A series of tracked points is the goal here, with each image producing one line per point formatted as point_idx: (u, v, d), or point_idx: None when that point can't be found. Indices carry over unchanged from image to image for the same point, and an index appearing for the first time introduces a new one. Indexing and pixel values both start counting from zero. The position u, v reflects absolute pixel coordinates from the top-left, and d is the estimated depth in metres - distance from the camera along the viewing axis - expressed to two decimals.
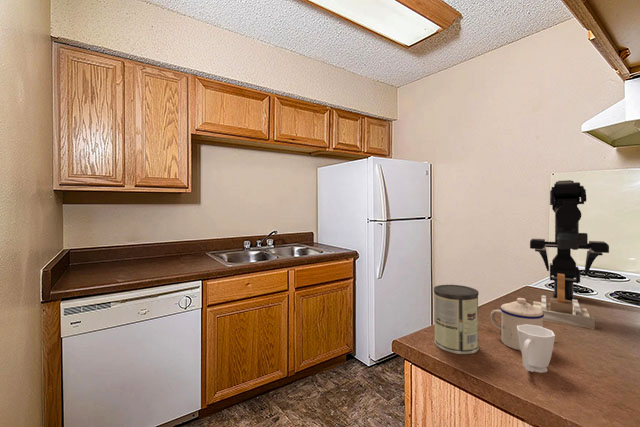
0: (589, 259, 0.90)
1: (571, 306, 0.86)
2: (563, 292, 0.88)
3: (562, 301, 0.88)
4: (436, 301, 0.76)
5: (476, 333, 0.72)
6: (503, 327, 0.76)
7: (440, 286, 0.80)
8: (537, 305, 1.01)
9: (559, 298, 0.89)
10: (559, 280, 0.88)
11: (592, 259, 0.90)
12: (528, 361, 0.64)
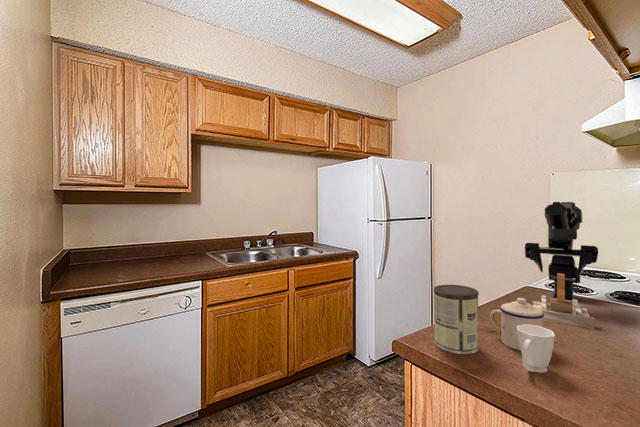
0: (581, 259, 0.94)
1: (571, 306, 0.86)
2: (563, 292, 0.88)
3: (562, 301, 0.88)
4: (436, 301, 0.76)
5: (476, 333, 0.72)
6: (503, 327, 0.76)
7: (440, 286, 0.80)
8: (537, 305, 1.01)
9: (559, 298, 0.89)
10: (559, 280, 0.88)
11: (583, 259, 0.94)
12: (528, 361, 0.64)
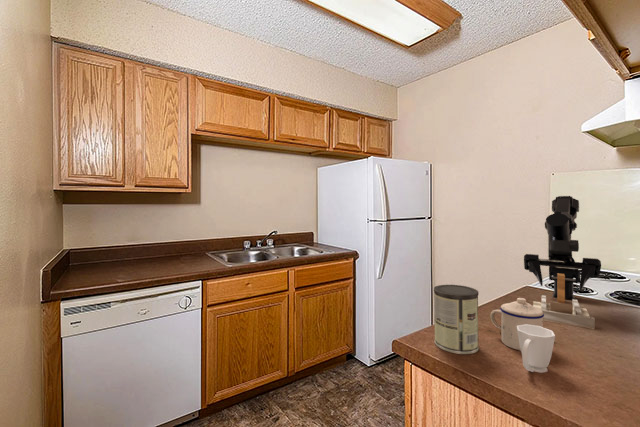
0: (582, 273, 0.89)
1: (571, 306, 0.86)
2: (563, 292, 0.88)
3: (562, 301, 0.88)
4: (436, 301, 0.76)
5: (476, 333, 0.72)
6: (503, 327, 0.76)
7: (440, 286, 0.80)
8: (537, 305, 1.01)
9: (559, 298, 0.89)
10: (559, 280, 0.88)
11: (585, 273, 0.89)
12: (528, 361, 0.64)
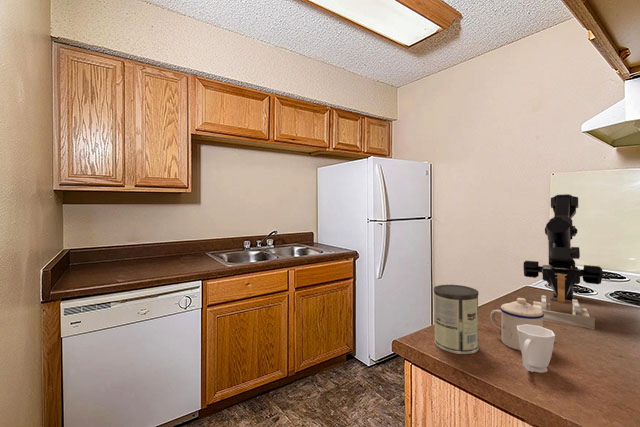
0: (567, 279, 0.89)
1: (571, 306, 0.86)
2: (563, 292, 0.88)
3: (562, 301, 0.88)
4: (436, 301, 0.76)
5: (476, 333, 0.72)
6: (503, 327, 0.76)
7: (440, 286, 0.80)
8: (537, 305, 1.01)
9: (559, 298, 0.89)
10: (559, 280, 0.88)
11: (570, 279, 0.89)
12: (528, 361, 0.64)
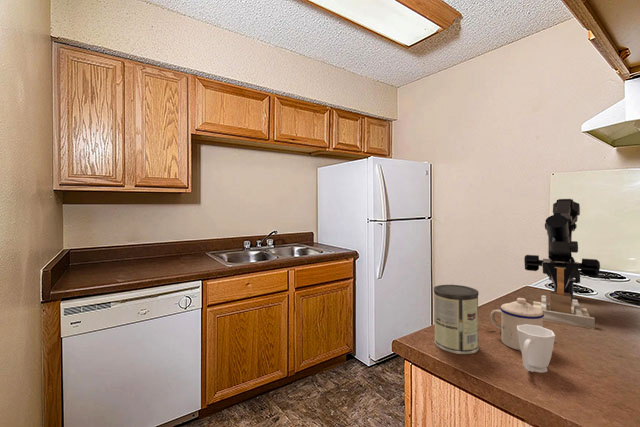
0: (566, 272, 0.94)
1: (570, 298, 0.90)
2: (562, 285, 0.92)
3: (561, 293, 0.92)
4: (436, 301, 0.76)
5: (476, 333, 0.72)
6: (503, 327, 0.76)
7: (440, 286, 0.80)
8: (537, 305, 1.01)
9: (558, 291, 0.93)
10: (558, 273, 0.93)
11: (569, 272, 0.93)
12: (528, 361, 0.64)
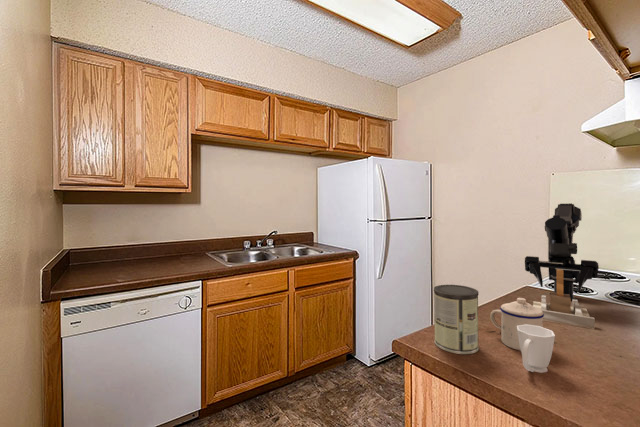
0: (581, 274, 0.94)
1: (569, 299, 0.92)
2: (562, 286, 0.94)
3: (561, 294, 0.94)
4: (436, 301, 0.76)
5: (476, 333, 0.72)
6: (503, 327, 0.76)
7: (440, 286, 0.80)
8: (537, 305, 1.01)
9: (558, 292, 0.95)
10: (558, 275, 0.95)
11: (584, 274, 0.93)
12: (528, 361, 0.64)
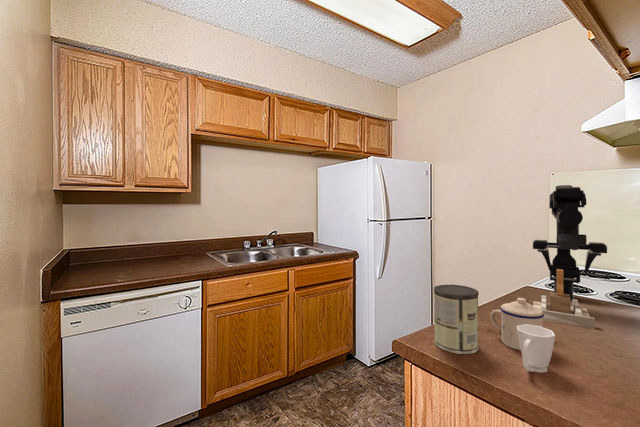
0: (588, 259, 0.96)
1: (569, 299, 0.92)
2: (562, 286, 0.94)
3: (561, 294, 0.94)
4: (436, 301, 0.76)
5: (476, 333, 0.72)
6: (503, 327, 0.76)
7: (440, 286, 0.80)
8: (537, 305, 1.01)
9: (558, 292, 0.95)
10: (558, 275, 0.95)
11: (591, 259, 0.96)
12: (528, 361, 0.64)
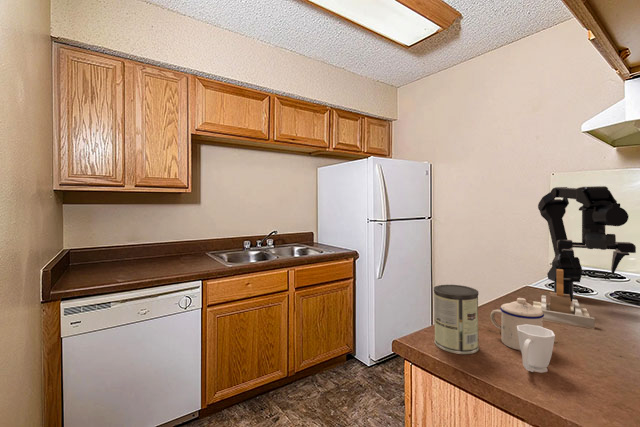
0: (616, 259, 0.95)
1: (569, 299, 0.92)
2: (562, 286, 0.94)
3: (561, 294, 0.94)
4: (436, 301, 0.76)
5: (476, 333, 0.72)
6: (503, 327, 0.76)
7: (440, 286, 0.80)
8: (537, 305, 1.01)
9: (558, 292, 0.95)
10: (558, 275, 0.95)
11: (619, 259, 0.95)
12: (528, 361, 0.64)
